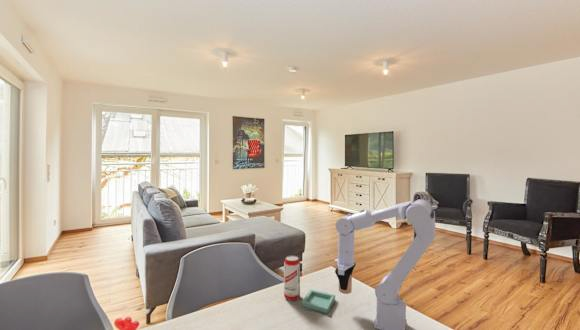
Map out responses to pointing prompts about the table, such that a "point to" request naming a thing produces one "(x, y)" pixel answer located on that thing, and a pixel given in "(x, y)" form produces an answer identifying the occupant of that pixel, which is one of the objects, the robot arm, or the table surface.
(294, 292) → the beer can
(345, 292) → the shaker
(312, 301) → the tray
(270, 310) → the table surface
